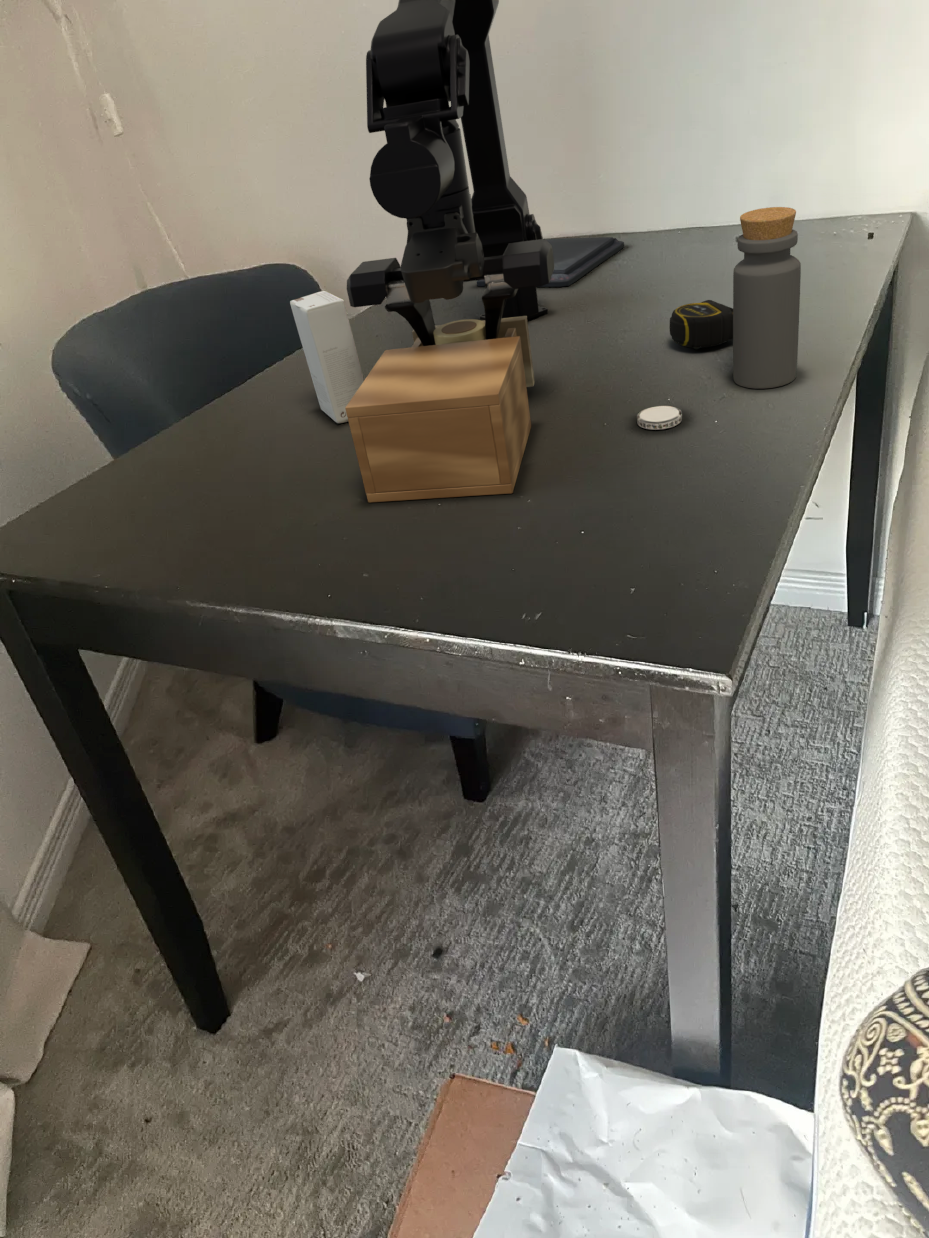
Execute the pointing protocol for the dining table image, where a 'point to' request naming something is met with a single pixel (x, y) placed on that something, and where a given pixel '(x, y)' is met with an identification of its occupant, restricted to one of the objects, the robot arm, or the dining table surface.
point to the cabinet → (442, 421)
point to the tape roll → (460, 331)
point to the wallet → (577, 258)
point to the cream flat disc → (659, 417)
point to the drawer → (510, 329)
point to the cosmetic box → (328, 351)
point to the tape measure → (702, 324)
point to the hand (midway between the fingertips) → (464, 363)
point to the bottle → (766, 300)
